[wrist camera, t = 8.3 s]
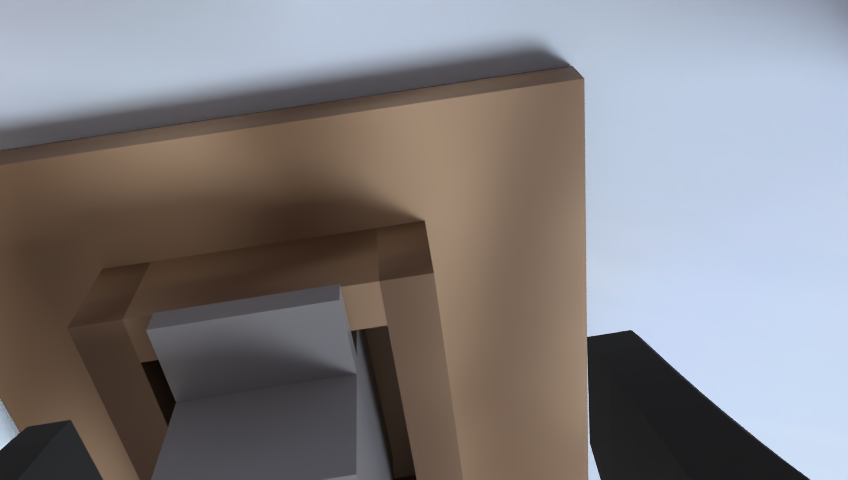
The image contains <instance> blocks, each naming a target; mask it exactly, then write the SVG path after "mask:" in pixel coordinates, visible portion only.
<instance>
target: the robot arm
mask: <svg viewBox="0 0 848 480" xmlns="http://www.w3.org/2000/svg"><path fill="white" fill-rule="evenodd" d="M587 354H588V391H589V427H590V445H591V448H592V452H593V455H594V458H595V462H596V465H597V468H598V472H599V475H600V479H601V480H810V479H809V478H807V477H806V476H805V475H803V474H802V473H801V472H799V471H798V470H796V469H795V468H794V467H792V466H791V465H790V464H788V463H787V462H786V461H784V460H783V459H782V458H781V457H779V456H778V455H777V454H775V453H774V452H773V451H772V450H770V449H769V448H768V447H766V446H765V445H764V444H763V443H761V442H760V441H759V440H758V439H756V438H755V437H754V436H753V435H752V434H750V433H749V432H748V431H747V430H745V429H744V428H743V427H742V426H741V425H739V424H738V423H737V422H736V421H734V420H733V419H732V418H731V417H730V416H728V415H727V414H726V413H725V412H724V411H722V410H721V409H720V408H719V407H718V406H716V405H715V404H714V403H713V402H712V401H711V400H709V399H708V398H707V397H706V396H705V395H704V394H702V393H701V392H700V391H699V390H698V389H697V388H696V387H694V386H693V385H692V384H691V383H690V382H689V381H688V380H687V379H685V378H684V377H683V376H682V375H681V374H680V373H679V372H678V371H676V370H675V369H674V368H673V367H672V366H671V365H670V364H669V363H668V362H666V361H665V360H664V359H663V358H662V357H661V356H660V355H659V354H658V353H657V352H656V351H655V350H653V349H652V348H651V347H650V346H649V345H648V344H647V343H646V342H645V341H644V340H643V339H641V338H640V337H639V336H638V335H637V334H635V333H634V332H633V331H631V330H629V331H623V332H616V333H610V334H604V335H598V336H591V337H587ZM0 480H103V478H102V477H101V475H100V473H99V471H98V469H97V467H96V465H95V464H94V462H93V460H92V458H91V456H90V454H89V452H88V451H87V449H86V447H85V445H84V443H83V441H82V439H81V438H80V436H79V434H78V432H77V430H76V428H75V427H74V425H73V423H72V421H71V420H66V421H59V422H53V423H47V424H41V425H34V426H28V427H26V428H25V429H24V430H23V431H22V432H21V433H19V434H18V435H17V436H16V437H15V438H14V439H12V440H11V441H10V442H9V443H8V444H7V445H6V446H5V447H4V448H2V449H1V450H0Z"/></svg>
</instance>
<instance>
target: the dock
mask: <svg viewBox="0 0 848 480" xmlns="http://www.w3.org/2000/svg"><path fill="white" fill-rule="evenodd" d="M336 284H340V286H341V291H342V295H343V299H344V304H345V308H346V312H347V317H348V321H349V325H350V330H351V331H354V330H360V329H365V331H366V336H367V341H368V345H369V350H370V354H371V359H372V364H373V368H374V373H375V377H376V382H377V386H378V391H379V396H380V400H381V405H382V409H383V414H384V418H385V423H386V428H387V432H388V437H389V441H390V446H391V450H392V455H393V473H394V480H588V414H587V313H586V213H585V112H584V78H583V77H582V76H581V75H580V74H579V72H578V71H577V70H576V69H575V68H574V67H573V66H569V67H562V68H556V69H549V70H542V71H535V72H529V73H522V74H515V75H508V76H502V77H495V78H488V79H481V80H475V81H468V82H461V83H454V84H448V85H441V86H434V87H427V88H421V89H414V90H407V91H400V92H394V93H387V94H380V95H373V96H367V97H360V98H353V99H346V100H340V101H333V102H326V103H319V104H313V105H306V106H299V107H292V108H286V109H279V110H272V111H266V112H259V113H252V114H245V115H239V116H232V117H225V118H218V119H212V120H205V121H198V122H191V123H185V124H178V125H171V126H164V127H158V128H151V129H144V130H137V131H131V132H124V133H117V134H110V135H104V136H97V137H90V138H83V139H77V140H70V141H63V142H56V143H50V144H43V145H36V146H29V147H23V148H16V149H9V150H2V151H0V398H1V400H2V402H3V404H4V405H5V407H6V409H7V411H8V412H9V414H10V416H11V418H12V419H13V421H14V423H15V424H16V426H17V428H18V430H19V431H20V433H21V432H22V431H23V430H24V429H25V428H26V427H28V426H34V425H41V424H47V423H53V422H59V421H66V420H71V421H72V423H73V425H74V427H75V428H76V430H77V432H78V434H79V436H80V438H81V439H82V441H83V443H84V445H85V447H86V449H87V451H88V452H89V454H90V456H91V458H92V460H93V462H94V464H95V465H96V467H97V469H98V471H99V473H100V475H101V477H102V478H103V480H151V478H152V475H153V472H154V469H155V466H156V463H157V460H158V457H159V454H160V451H161V448H162V444H163V441H164V438H165V435H166V432H167V429H168V426H169V423H170V420H171V417H172V413H173V410H174V407H175V404H176V401H175V399H174V396H173V394H172V391H171V389H170V387H169V384H168V382H167V379H166V377H165V375H164V372H163V370H162V367H161V365H160V363H159V360H158V358H157V355H156V353H155V351H154V348H153V346H152V343H151V341H150V339H149V336H148V334H147V331H146V329H147V327H148V324H149V322H150V320H151V317H152V315H153V313H156V312H163V311H169V310H176V309H182V308H188V307H195V306H201V305H208V304H214V303H221V302H227V301H233V300H240V299H246V298H253V297H259V296H265V295H272V294H278V293H285V292H291V291H298V290H304V289H310V288H317V287H323V286H330V285H336Z"/></svg>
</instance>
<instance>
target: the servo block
mask: <svg viewBox="0 0 848 480" xmlns="http://www.w3.org/2000/svg"><path fill="white" fill-rule="evenodd" d="M146 331H147V334H148V336H149V339H150V341H151V343H152V346H153V348H154V351H155V353H156V355H157V358H158V360H159V363H160V365H161V367H162V370H163V372H164V375H165V377H166V379H167V382H168V384H169V387H170V389H171V391H172V394H173V396H174V399H175V401H176V404H175V407H174V410H173V413H172V417H171V420H170V423H169V426H168V429H167V432H166V435H165V438H164V441H163V444H162V448H161V451H160V454H159V457H158V460H157V463H156V466H155V469H154V472H153V475H152V478H151V480H394V473H393V455H392V450H391V446H390V441H389V437H388V432H387V428H386V423H385V418H384V414H383V409H382V405H381V400H380V396H379V391H378V386H377V382H376V377H375V373H374V368H373V364H372V359H371V354H370V350H369V345H368V341H367V336H366V331H365V329H360V330H354V331H351V330H350V325H349V321H348V317H347V312H346V308H345V304H344V299H343V295H342V291H341V286H340V284H336V285H330V286H323V287H317V288H310V289H304V290H298V291H291V292H285V293H278V294H272V295H265V296H259V297H253V298H246V299H240V300H233V301H227V302H221V303H214V304H208V305H201V306H195V307H188V308H182V309H176V310H169V311H163V312H156V313H153V315H152V317H151V320H150V322H149V324H148V327H147V329H146Z"/></svg>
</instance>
